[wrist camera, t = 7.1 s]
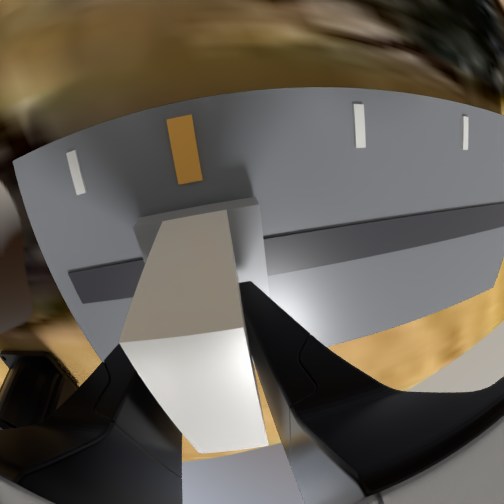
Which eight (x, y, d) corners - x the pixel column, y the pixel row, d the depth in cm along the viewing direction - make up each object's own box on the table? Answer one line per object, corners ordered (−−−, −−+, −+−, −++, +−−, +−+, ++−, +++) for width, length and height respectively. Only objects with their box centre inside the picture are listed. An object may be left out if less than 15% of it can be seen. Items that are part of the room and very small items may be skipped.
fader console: (118, 350, 15) (111, 377, 13) (37, 151, 9) (11, 162, 7) (477, 273, 16) (494, 288, 14) (501, 116, 10) (525, 123, 8)
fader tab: (175, 326, 11) (166, 454, 6) (138, 217, 9) (71, 345, 4) (269, 312, 12) (303, 438, 6) (255, 196, 9) (309, 314, 4)
